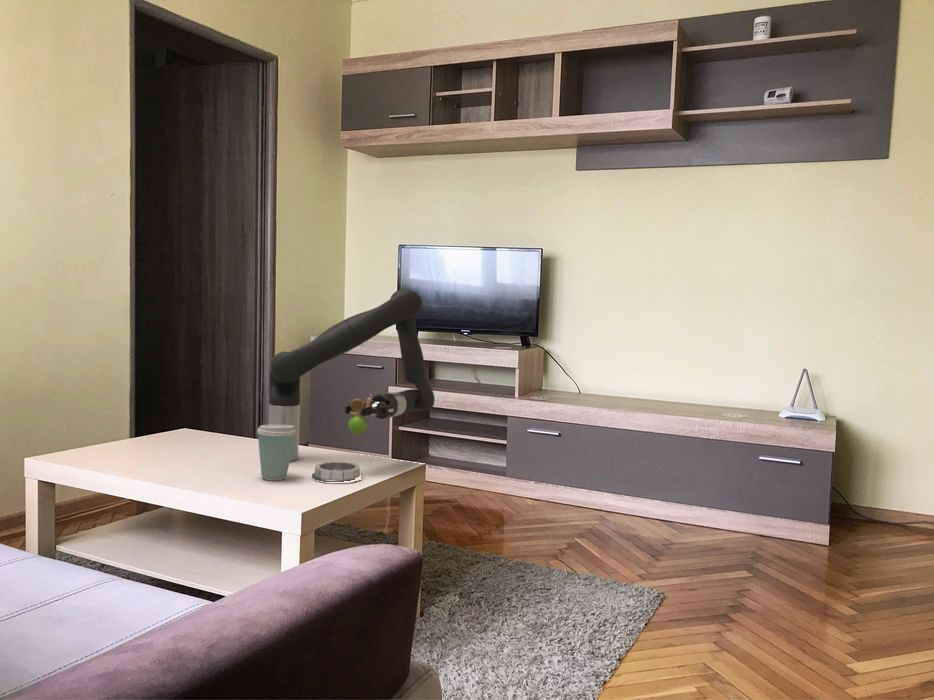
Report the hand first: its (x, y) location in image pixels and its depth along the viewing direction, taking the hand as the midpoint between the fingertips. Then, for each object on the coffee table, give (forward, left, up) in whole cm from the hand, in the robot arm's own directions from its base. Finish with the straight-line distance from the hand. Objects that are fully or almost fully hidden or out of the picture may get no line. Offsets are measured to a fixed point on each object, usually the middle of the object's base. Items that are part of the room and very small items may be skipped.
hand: (354, 411), depth 214 cm
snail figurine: (+2, +2, -7) cm, 8 cm away
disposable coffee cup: (-21, -4, -19) cm, 29 cm away
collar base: (-4, -3, -19) cm, 19 cm away
